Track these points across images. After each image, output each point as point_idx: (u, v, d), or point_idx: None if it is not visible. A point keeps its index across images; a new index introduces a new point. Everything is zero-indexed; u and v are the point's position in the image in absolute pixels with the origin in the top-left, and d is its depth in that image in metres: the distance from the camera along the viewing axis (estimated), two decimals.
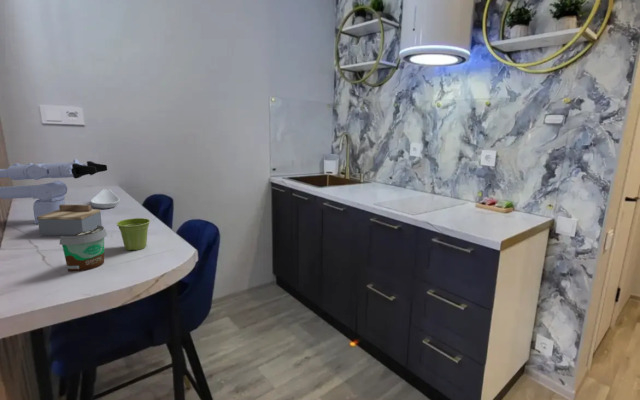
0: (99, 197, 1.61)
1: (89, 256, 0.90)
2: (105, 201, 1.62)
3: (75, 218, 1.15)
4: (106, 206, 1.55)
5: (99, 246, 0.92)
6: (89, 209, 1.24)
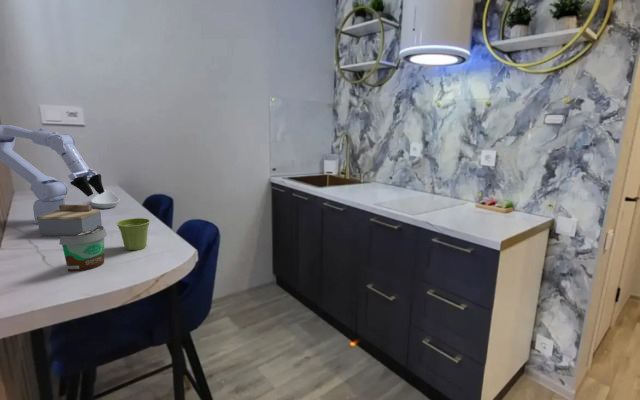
0: (99, 197, 1.62)
1: (89, 256, 0.90)
2: (105, 201, 1.62)
3: (75, 218, 1.15)
4: (106, 206, 1.55)
5: (99, 246, 0.92)
6: (89, 209, 1.24)
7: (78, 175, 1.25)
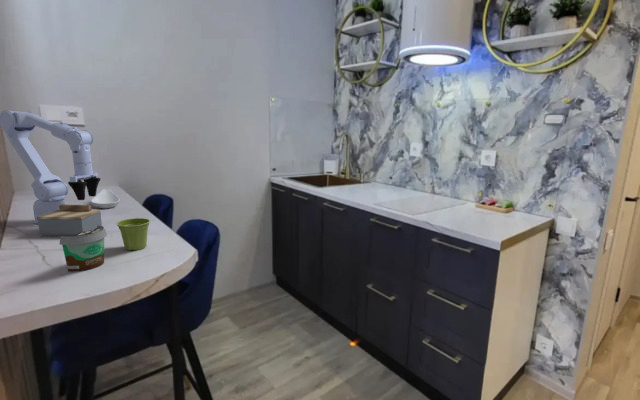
0: (99, 197, 1.62)
1: (89, 256, 0.90)
2: (105, 201, 1.62)
3: (75, 218, 1.15)
4: (106, 206, 1.55)
5: (99, 246, 0.92)
6: (89, 209, 1.24)
7: (79, 177, 1.24)
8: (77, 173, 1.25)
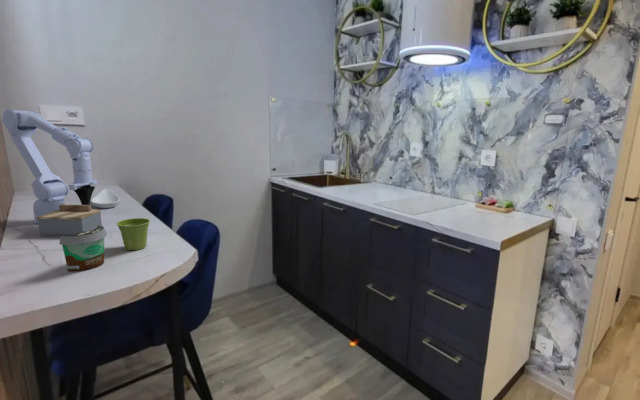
0: (99, 197, 1.62)
1: (89, 256, 0.90)
2: (105, 201, 1.63)
3: (75, 218, 1.15)
4: (106, 206, 1.55)
5: (99, 246, 0.92)
6: (89, 209, 1.24)
7: None
8: (76, 181, 1.25)
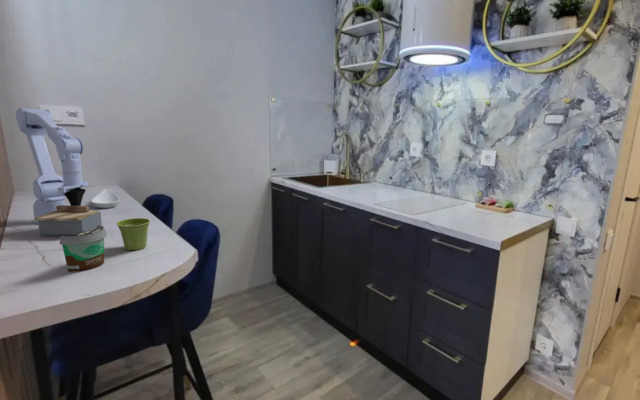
0: (100, 197, 1.62)
1: (89, 256, 0.90)
2: (105, 201, 1.63)
3: (72, 219, 1.14)
4: (106, 206, 1.55)
5: (99, 246, 0.92)
6: (87, 210, 1.22)
7: None
8: (66, 183, 1.19)
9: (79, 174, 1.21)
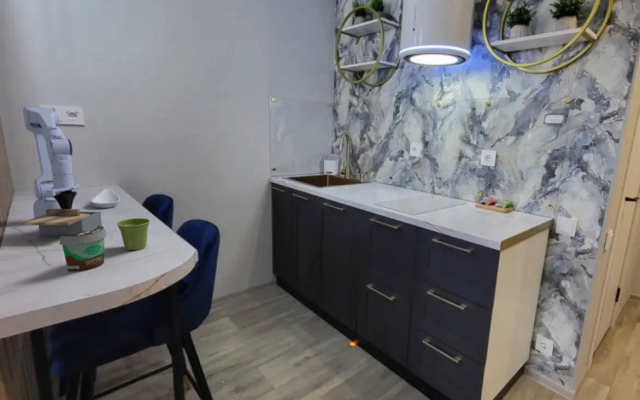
0: (100, 197, 1.63)
1: (89, 256, 0.90)
2: (106, 201, 1.63)
3: (62, 223, 1.09)
4: (106, 206, 1.56)
5: (99, 246, 0.92)
6: (78, 213, 1.17)
7: None
8: (56, 185, 1.14)
9: (70, 176, 1.16)
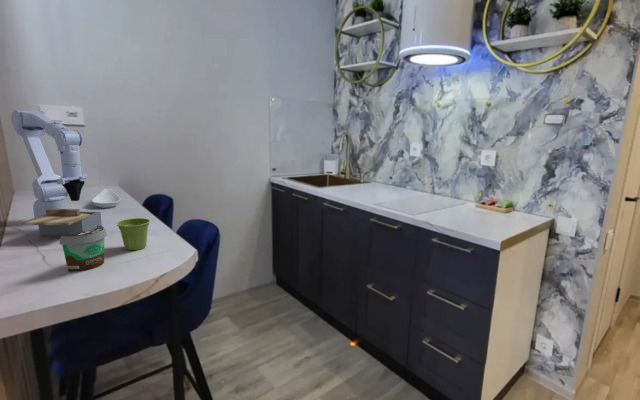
0: (100, 196, 1.63)
1: (89, 256, 0.90)
2: (106, 201, 1.63)
3: (62, 223, 1.09)
4: (107, 205, 1.56)
5: (99, 246, 0.92)
6: (78, 213, 1.17)
7: (67, 179, 1.19)
8: (65, 175, 1.20)
9: (78, 166, 1.22)
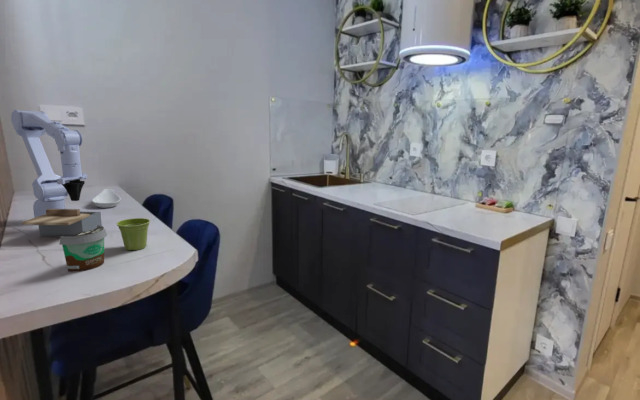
0: (101, 196, 1.63)
1: (89, 256, 0.90)
2: (106, 200, 1.64)
3: (62, 223, 1.09)
4: (107, 205, 1.56)
5: (99, 246, 0.92)
6: (78, 213, 1.17)
7: (67, 179, 1.19)
8: (65, 175, 1.20)
9: (78, 166, 1.22)
